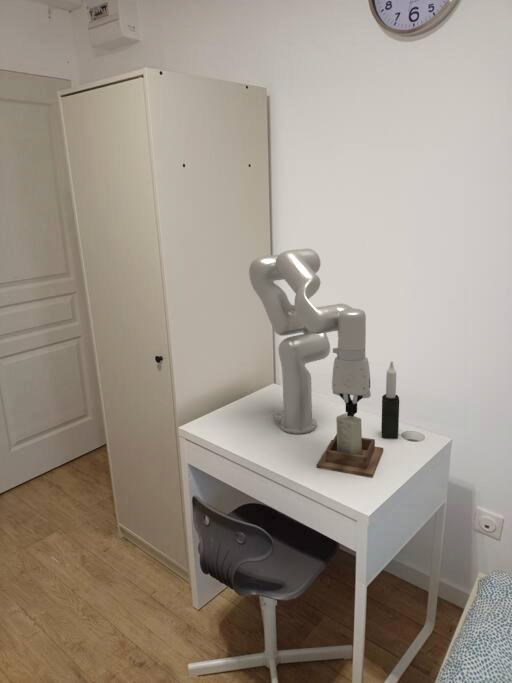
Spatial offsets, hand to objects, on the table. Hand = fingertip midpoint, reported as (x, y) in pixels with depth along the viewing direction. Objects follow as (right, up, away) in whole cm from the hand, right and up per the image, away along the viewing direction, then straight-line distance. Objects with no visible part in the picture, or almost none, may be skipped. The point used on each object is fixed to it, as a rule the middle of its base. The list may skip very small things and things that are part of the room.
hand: (351, 414), depth 144 cm
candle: (+16, -9, +17) cm, 25 cm away
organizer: (+1, -14, +4) cm, 14 cm away
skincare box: (0, -13, +4) cm, 13 cm away
